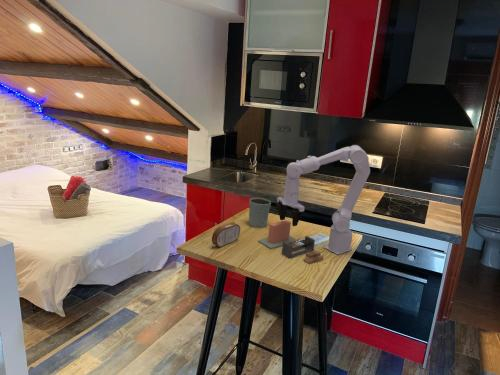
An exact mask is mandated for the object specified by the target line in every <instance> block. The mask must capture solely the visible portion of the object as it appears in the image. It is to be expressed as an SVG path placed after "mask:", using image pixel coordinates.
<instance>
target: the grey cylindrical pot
mask: <svg viewBox="0 0 500 375" xmlns="http://www.w3.org/2000/svg"><path fill="white" fill-rule="evenodd" d="M271 205H272V201H271V200H269V199H267V198H262V197H252V198H250V199H249V207H248V208H249V209H248V210H249V213H248V214H249V217H248V219H249V220H248V225H249V226H250V227H252V228H256V229H262V228H266V227H267V224H268V218H269V214H270V209H271Z"/></svg>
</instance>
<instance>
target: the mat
mask: <svg viewBox="0 0 500 375" xmlns="http://www.w3.org/2000/svg"><path fill="white" fill-rule="evenodd" d="M296 241H298V242H299V240H298V239H297V238H294V237H292V236H291V235H289V239H288V240H284V241H280V242H276V243H273V244H271V243H269V242H268V237H267V238H262V239H258V240H257V243H259V244H261V245H263V246H264V247H266V248H268V249H269V250H273V249H276V248H280V247H282V246H283V242H286V243H287V244H289V245H291V244H296V243H297V242H296Z"/></svg>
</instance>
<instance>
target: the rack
mask: <svg viewBox="0 0 500 375" xmlns="http://www.w3.org/2000/svg"><path fill="white" fill-rule="evenodd" d="M315 242H316V240H315V238H312V237H309V236H308V235H305V237H304V243H303V244H300V245H296V246H293V245H291V244H287V243H286V242H283V246H281V247H282V248H281V254H282V255H283V256H285V257H286V258H288V259H292V258H296V257H300V256H302V255H306V253H307V252H311V251H314V249H315ZM298 250H299V251H298Z"/></svg>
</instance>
